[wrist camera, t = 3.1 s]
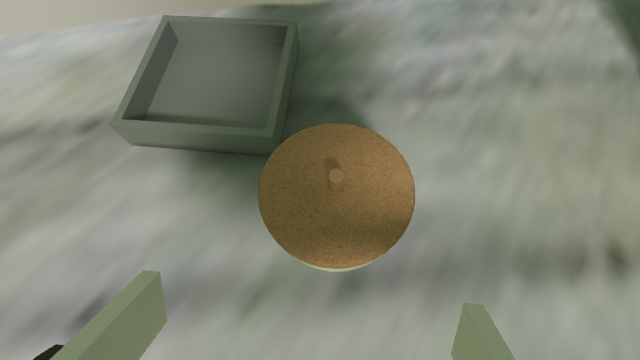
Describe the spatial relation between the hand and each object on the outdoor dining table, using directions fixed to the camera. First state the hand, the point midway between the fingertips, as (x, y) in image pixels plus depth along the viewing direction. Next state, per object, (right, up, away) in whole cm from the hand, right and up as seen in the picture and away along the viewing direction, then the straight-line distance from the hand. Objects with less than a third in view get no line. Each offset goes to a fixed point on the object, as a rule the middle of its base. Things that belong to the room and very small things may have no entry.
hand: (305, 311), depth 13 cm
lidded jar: (+2, +2, +15) cm, 15 cm away
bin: (-10, +16, +21) cm, 29 cm away
